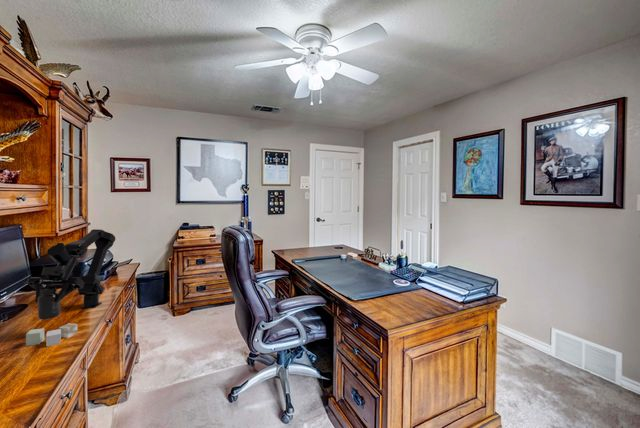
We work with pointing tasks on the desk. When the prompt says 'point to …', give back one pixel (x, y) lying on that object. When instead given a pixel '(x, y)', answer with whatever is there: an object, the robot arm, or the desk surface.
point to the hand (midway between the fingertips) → (46, 302)
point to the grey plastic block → (53, 337)
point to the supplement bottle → (48, 303)
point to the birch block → (68, 330)
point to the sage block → (34, 337)
